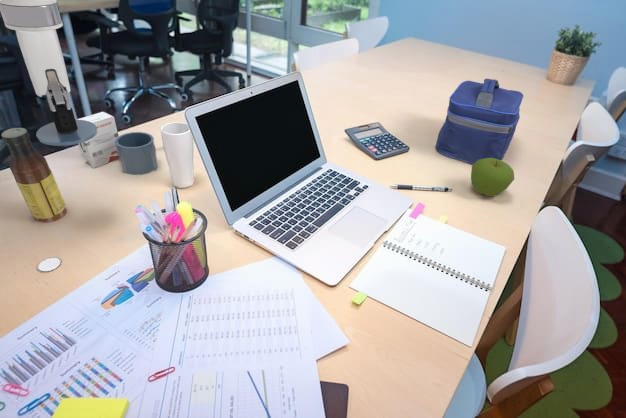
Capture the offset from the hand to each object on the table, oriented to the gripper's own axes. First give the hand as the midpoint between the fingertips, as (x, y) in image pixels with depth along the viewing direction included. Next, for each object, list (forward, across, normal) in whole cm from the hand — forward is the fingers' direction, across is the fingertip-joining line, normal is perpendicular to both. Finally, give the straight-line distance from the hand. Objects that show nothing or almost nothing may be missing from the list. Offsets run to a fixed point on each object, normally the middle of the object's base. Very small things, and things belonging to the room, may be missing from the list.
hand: (65, 125), depth 70 cm
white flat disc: (+22, +10, -10) cm, 26 cm away
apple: (+22, +34, +91) cm, 99 cm away
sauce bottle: (+22, -6, -8) cm, 24 cm away
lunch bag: (+22, +14, +112) cm, 115 cm away
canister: (+22, -18, +14) cm, 32 cm away
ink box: (+22, -26, +7) cm, 35 cm away
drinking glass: (+22, -6, +21) cm, 31 cm away
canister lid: (+2, 0, 0) cm, 2 cm away
